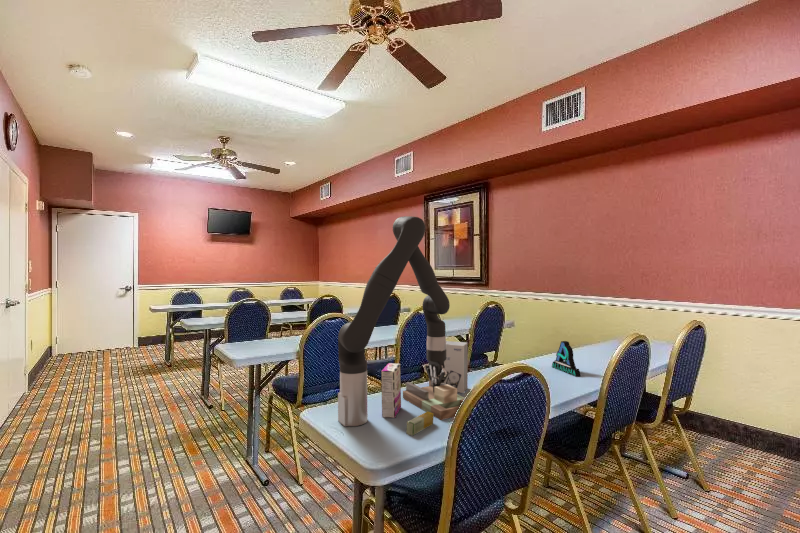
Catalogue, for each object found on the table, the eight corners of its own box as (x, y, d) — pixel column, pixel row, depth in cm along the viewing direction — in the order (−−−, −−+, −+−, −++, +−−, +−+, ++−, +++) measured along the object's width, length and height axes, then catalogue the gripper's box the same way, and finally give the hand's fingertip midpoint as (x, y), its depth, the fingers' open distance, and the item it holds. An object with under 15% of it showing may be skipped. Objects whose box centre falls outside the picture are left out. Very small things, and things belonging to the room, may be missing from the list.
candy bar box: (388, 406, 150) (387, 362, 150) (401, 407, 149) (401, 363, 149) (380, 417, 139) (380, 370, 139) (395, 418, 138) (394, 371, 138)
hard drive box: (428, 389, 171) (427, 342, 171) (433, 384, 178) (433, 339, 178) (464, 393, 165) (463, 345, 165) (468, 388, 172) (468, 341, 172)
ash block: (443, 403, 144) (443, 391, 144) (434, 398, 149) (434, 386, 149) (457, 400, 147) (457, 388, 147) (447, 396, 152) (447, 384, 152)
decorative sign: (551, 367, 206) (551, 338, 206) (555, 367, 207) (555, 338, 207) (576, 377, 188) (575, 345, 188) (580, 376, 188) (580, 345, 188)
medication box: (412, 436, 124) (412, 423, 124) (405, 434, 125) (405, 421, 125) (433, 424, 133) (433, 412, 133) (426, 422, 135) (427, 410, 135)
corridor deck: (440, 420, 136) (440, 402, 136) (402, 398, 159) (402, 383, 159) (477, 411, 144) (477, 394, 144) (436, 392, 167) (436, 377, 167)
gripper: (418, 345, 156) (419, 390, 157) (438, 352, 145) (438, 399, 145) (434, 343, 160) (435, 386, 160) (454, 349, 149) (455, 396, 149)
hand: (436, 393), depth 153 cm, fingers closed
